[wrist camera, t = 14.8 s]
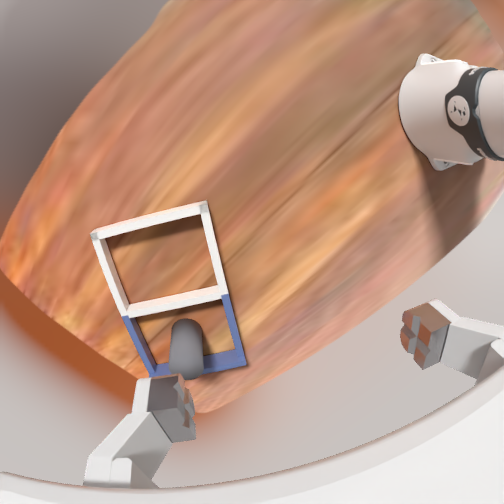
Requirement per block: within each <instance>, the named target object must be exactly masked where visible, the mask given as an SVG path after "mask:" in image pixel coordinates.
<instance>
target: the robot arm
mask: <svg viewBox="0 0 504 504" xmlns="http://www.w3.org/2000/svg"><path fill="white" fill-rule="evenodd" d="M399 112H400V117H401V121H402V124H403V127H404V129H405V132H406V134H407V135H408V137H409V139H410V140H411V142H412V143H413V144H414V145H415V146H416V147H417V148H418V149H419V150H420V151H421V152H422V153H424V154H425V155H426V156H427V157H428V159H429V161H430V163H431V165H432V166H433V168H434V169H435V170H439V171H442V170H445V169H447V168H449V167H452V166H454V165H456V164H465V165H473V163H474V162H477V161H479V160H481V159H482V158H488V159H490V160H494V161H497V160H499V161H504V70H497V69H495V68H488V67H476V66H472V65H468V63H467V62H462V61H461V60H446V61H443V60H441V59H439V58H436V57H434V56H432V55H429V54H421V55H420V56H419V57H418V60H417V63H416V66H415V68H414V69H413V70H412V71H410V72H409V73H408V74H407V76H406V77H405V78H404V80H403V82H402V85H401V88H400V93H399ZM402 321H403V322H404V326H403V327H402V329H401V334H400V338H401V343H402V345H403V347H404V349H405V350H406V351H407V352H408V353H411V354H414V360H415V362H416V363H417V364H418V365H419V366H420V367H421V368H422V370H423V369H426V368H428V367H430V366H432V365H434V364H436V363H438V362H440V363H442V364H444V365H446V366H448V367H451V368H453V369H456V370H457V371H460V372H462V373H464V374H467V375H469V376H471V377H473V378H476V379H477V381H476V383H475V385H474V387H472V388H471V389H469V390H468V391H466V392H464V393H463V394H461V395H460V396H458V397H457V398H455V399H453V400H452V401H450V402H448V403H447V404H445V405H443V406H442V407H440V408H438V409H436V410H434V411H433V412H431V413H429V414H427V415H425V416H424V417H422V418H420V419H418V420H416V421H414V422H412V423H410V424H408V425H406V426H404V427H402V428H400V429H398V430H395V431H393V432H391V433H389V434H387V435H384V436H382V437H380V438H377V439H375V440H373V441H371V442H368V443H365V444H363V445H360V446H358V447H355V448H353V449H350V450H347V451H345V452H342V453H339V454H336V455H333V456H330V457H327V458H324V459H321V460H318V461H315V462H312V463H308V464H305V465H301V466H298V467H294V468H290V469H286V470H283V471H279V472H274V473H270V474H265V475H261V476H257V477H251V478H246V479H240V480H234V481H228V482H222V483H214V484H207V485H197V486H187V487H175V488H174V487H173V488H159V487H158V486H157V485H155V484H154V483H153V482H152V481H151V479H152V477H153V476H154V474H155V473H156V471H157V469H158V468H159V466H160V464H161V462H162V461H163V459H164V458H165V456H166V454H167V452H168V451H169V449H170V448H171V446H172V443H174V442H181V441H188V440H194V439H196V430H195V423H194V421H193V419H192V417H193V416H194V415H195V410H194V403H193V399H192V396H191V393H190V391H189V389H187V388H185V381H184V379H183V377H182V375H181V374H180V373H177V374H171V375H163V376H156V377H150V378H142V379H139V380H138V381H137V384H136V390H135V395H134V401H133V407H132V414H127V415H126V417H125V418H124V419H123V420H122V421H121V422H120V423H119V424H118V425H117V426H116V427H115V428H114V430H113V431H112V432H111V433H110V434H109V435H108V436H107V437H106V438H105V439H104V440H103V442H101V444H100V445H99V446H98V447H97V448H96V449H95V450H94V451H93V452H92V453H91V454H90V455H89V456H88V461H87V466H86V471H85V477H84V483H83V486H79V485H71V484H62V483H56V482H50V481H44V480H38V479H34V478H29V477H24V476H20V475H16V474H12V473H8V472H0V504H504V326H501V325H496V324H492V323H488V322H484V321H480V320H475V319H471V318H467V317H463V318H461V317H460V316H458V315H457V314H456V313H455V312H453V311H452V310H451V309H450V308H448V307H447V306H446V305H444V304H443V303H442V302H441V301H440V300H438V299H433V300H430V301H428V302H426V303H424V304H421V305H419V306H417V307H414V308H412V309H409V310H407V311H405V312H404V313H403V316H402Z"/></svg>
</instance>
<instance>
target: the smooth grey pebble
mask: <svg viewBox="0 0 504 504" xmlns="http://www.w3.org/2000/svg"><path fill="white" fill-rule="evenodd" d="M203 370H204V365H203V346H202V329H201V326H200V325H199V324H198V323H197V322H196V321H194V320H192V319H180V320H178V321H177V322H175V323H174V325H173V327H172V333H171V343H170V354H169V371H170V372H171V374H177V373H180V374H181V375H182V377H183V379H184V380H192V379H195V378H197V377H199V376H200V375H201V374H202V372H203Z"/></svg>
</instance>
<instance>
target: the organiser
mask: <svg viewBox="0 0 504 504" xmlns="http://www.w3.org/2000/svg"><path fill="white" fill-rule="evenodd" d="M197 214H201V218H202V222H203V226H204V230H205V235H206V239H207V243H208V247H209V251H210V255H211V259H212V263H213V267H214V271H215V275H216V279H217V283H218V285H216V286H212V287H208V288H203V289H199V290H194V291H190V292H185V293H181V294H176V295H172V296H167V297H162V298H158V299H153V300H148V301H144V302H139V303H134V304H130V305H129V302H128V300H127V297H126V295H125V292H124V290H123V287H122V285H121V282H120V279H119V277H118V274H117V271H116V269H115V266H114V263H113V260H112V257H111V255H110V252H109V249H108V246H107V243H106V240H105V238H107V237H110V236H114V235H118V234H121V233H125V232H129V231H133V230H137V229H140V228H144V227H148V226H152V225H156V224H160V223H164V222H168V221H172V220H176V219H181V218H185V217H189V216H193V215H197ZM90 236H91V239H92V242H93V245H94V247H95V250H96V253H97V256H98V259H99V262H100V264H101V267H102V270H103V272H104V275H105V278H106V280H107V283H108V285H109V288H110V290H111V293H112V295H113V298H114V300H115V302H116V305H117V307H118V309H119V312H120V314H121V316H122V319H123V321H124V323H125V325H126V328H127V330H128V332H129V334H130V336H131V338H132V340H133V342H134V345H135V347H136V349H137V351H138V353H139V355H140V357H141V359H142V361H143V363H144V365H145V367H146V368H147V370H148V372H149V378H150V377H156V376H163V375H171V372H170V371H169V363H164V364H158V365H156V363H155V361H154V359H153V357H152V355H151V353H150V350H149V348H148V346H147V344H146V342H145V340H144V337H143V335H142V333H141V331H140V328H139V326H138V324H137V322H136V319H135V317H138V316H143V315H148V314H153V313H157V312H162V311H167V310H172V309H177V308H181V307H186V306H191V305H195V304H200V303H204V302H209V301H213V300H218V299H222V302H223V305H224V309H225V313H226V317H227V320H228V324H229V328H230V331H231V335H232V338H233V342H234V346H235V349H234V350H230V351H226V352H221V353H216V354H211V355H207V356H203V365H204V370H203V372H202V374H207V373H212V372H217V371H221V370H226V369H231V368H235V367H240V366H244V365H247V364H246V360H245V355H244V351H243V347H242V344H241V340H240V336H239V332H238V328H237V324H236V320H235V316H234V313H233V309H232V305H231V301H230V297H229V293H228V289H227V285H226V280H225V276H224V272H223V268H222V264H221V260H220V256H219V251H218V247H217V243H216V239H215V234H214V230H213V226H212V221H211V217H210V212H209V208H208V203H207V200H206V201H201V202H197V203H193V204H188V205H184V206H180V207H176V208H172V209H168V210H164V211H160V212H156V213H152V214H148V215H144V216H141V217H137V218H133V219H129V220H126V221H122V222H118V223H115V224H111V225H108V226H104V227H101V228H97V229H95V230H94V231H92V232H91V233H90Z"/></svg>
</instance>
